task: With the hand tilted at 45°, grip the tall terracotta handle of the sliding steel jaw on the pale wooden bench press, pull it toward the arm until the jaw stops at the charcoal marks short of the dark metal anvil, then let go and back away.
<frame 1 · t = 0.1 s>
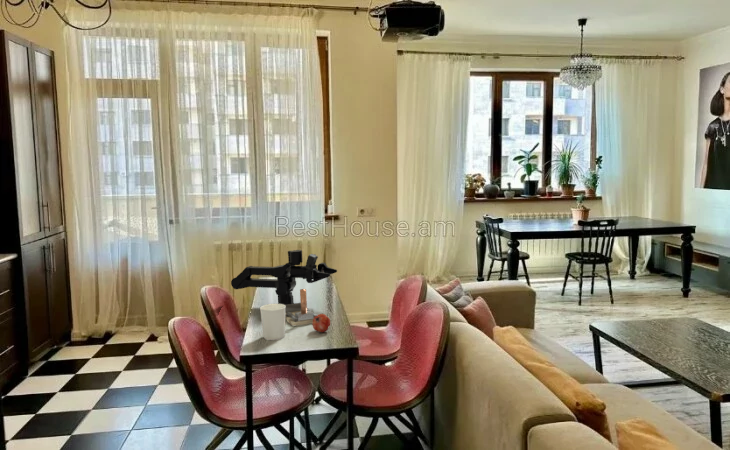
hand: (333, 273, 236), 17 cm above the table, tool horizontal, fingers open, 9 cm apart
press frame: (300, 318, 222), on the table
press jaw: (303, 304, 215), point 8 cm above the table, slide at 0.0 cm
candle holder: (274, 337, 199), on the table
pomegranate: (322, 331, 204), on the table
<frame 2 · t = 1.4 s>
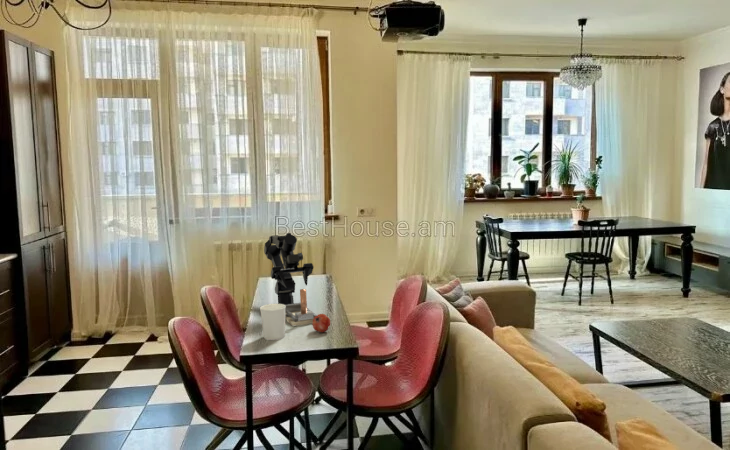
hand: (296, 286, 224), 14 cm above the table, tool tilted 45°, fingers open, 9 cm apart
nothing on the table moved.
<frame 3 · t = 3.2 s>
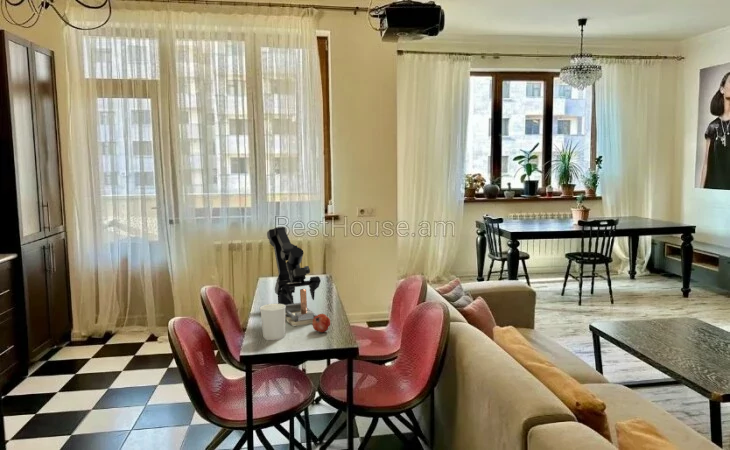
hand: (303, 300, 216), 9 cm above the table, tool tilted 45°, fingers open, 9 cm apart
nothing on the table moved.
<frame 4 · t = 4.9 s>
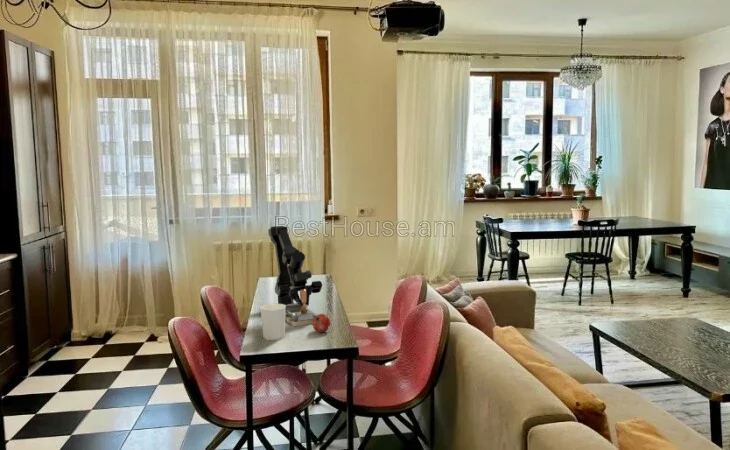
hand: (304, 305, 214), 8 cm above the table, tool tilted 45°, fingers closed on press jaw, 3 cm apart
press jaw: (303, 304, 215), point 8 cm above the table, slide at 0.0 cm, touching gripper
everything else where it was.
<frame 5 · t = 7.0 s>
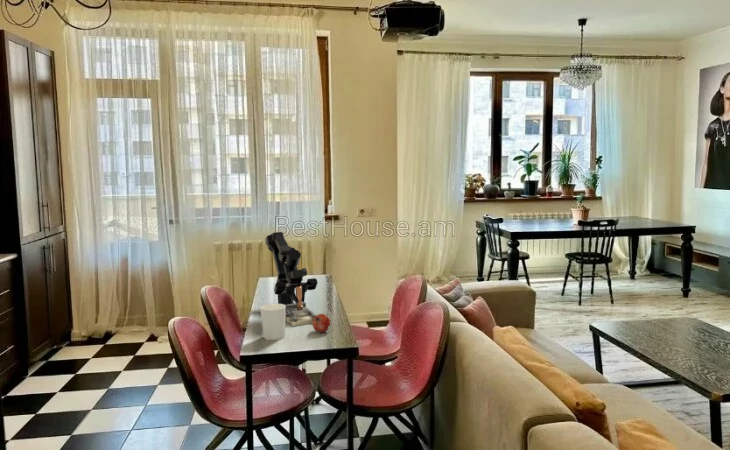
hand: (300, 302, 220), 8 cm above the table, tool tilted 45°, fingers closed on press jaw, 3 cm apart
press jaw: (299, 300, 221), point 8 cm above the table, slide at 6.5 cm, touching gripper
everything else where it was.
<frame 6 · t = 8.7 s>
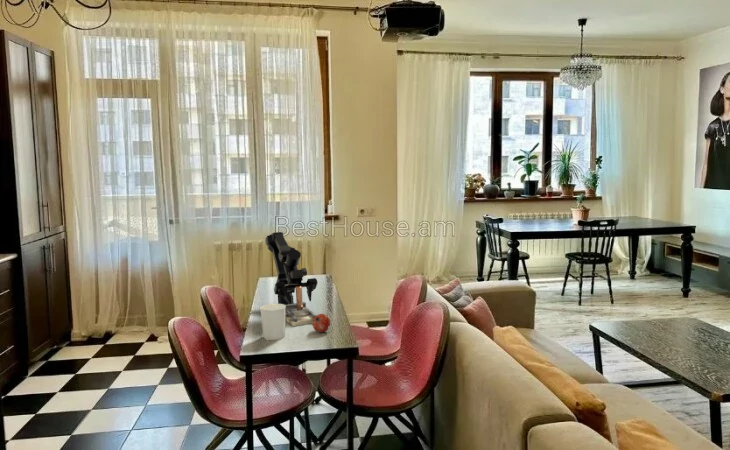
hand: (300, 302, 220), 8 cm above the table, tool tilted 45°, fingers open, 9 cm apart
press jaw: (299, 300, 221), point 8 cm above the table, slide at 6.5 cm
everything else where it was.
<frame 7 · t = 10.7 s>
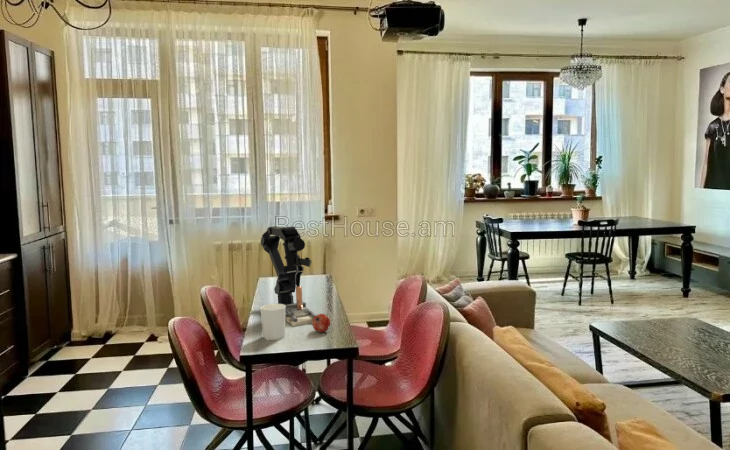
hand: (296, 287, 232), 11 cm above the table, tool pointing down, fingers open, 9 cm apart
nothing on the table moved.
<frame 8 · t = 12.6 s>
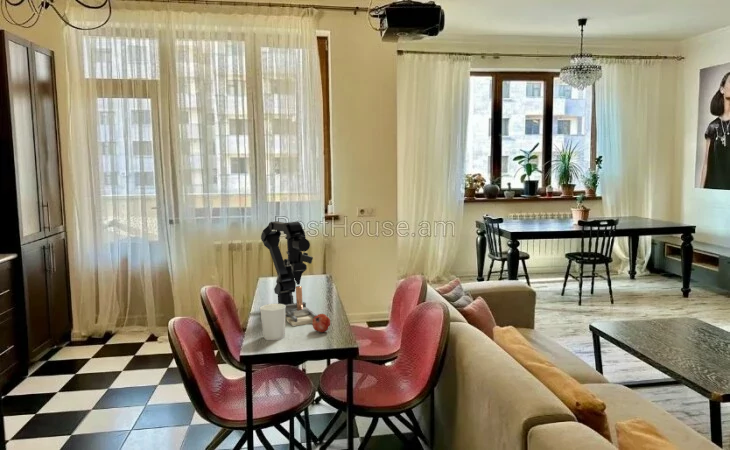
hand: (295, 282, 234), 13 cm above the table, tool pointing down, fingers open, 9 cm apart
nothing on the table moved.
at the end: press jaw slide at 6.5 cm; the gripper is holding nothing; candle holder moved 0.2 cm from its start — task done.
